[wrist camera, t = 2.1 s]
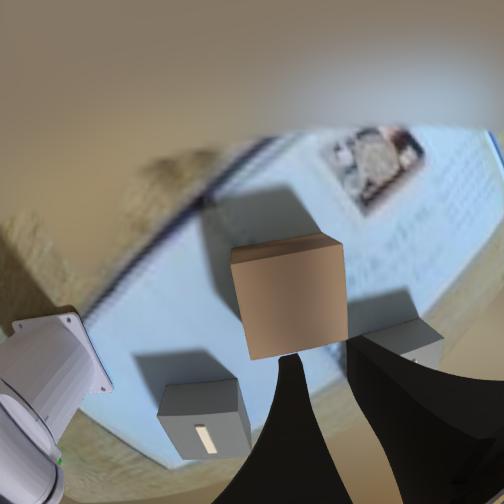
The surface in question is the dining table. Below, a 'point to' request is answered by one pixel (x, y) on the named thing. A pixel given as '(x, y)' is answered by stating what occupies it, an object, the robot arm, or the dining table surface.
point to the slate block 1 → (206, 420)
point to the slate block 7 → (411, 342)
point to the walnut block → (291, 294)
